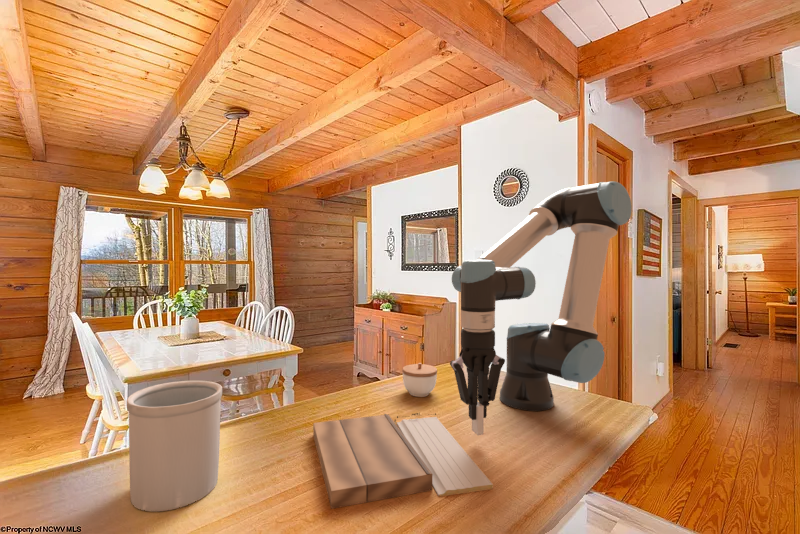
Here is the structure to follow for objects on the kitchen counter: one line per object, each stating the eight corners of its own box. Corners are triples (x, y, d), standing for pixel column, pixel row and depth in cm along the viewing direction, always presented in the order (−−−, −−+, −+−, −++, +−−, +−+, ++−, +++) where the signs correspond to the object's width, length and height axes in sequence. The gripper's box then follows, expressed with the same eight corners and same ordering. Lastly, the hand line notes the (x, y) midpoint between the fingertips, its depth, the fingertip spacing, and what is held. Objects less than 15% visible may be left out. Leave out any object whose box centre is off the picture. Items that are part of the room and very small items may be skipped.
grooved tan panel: (388, 426, 99) (388, 413, 99) (432, 490, 72) (432, 472, 72) (313, 435, 93) (313, 422, 93) (331, 508, 67) (331, 490, 66)
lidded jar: (400, 388, 128) (400, 359, 127) (433, 387, 129) (433, 358, 128) (404, 400, 117) (404, 368, 117) (439, 399, 118) (440, 368, 118)
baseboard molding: (430, 501, 70) (492, 492, 73) (431, 484, 70) (493, 477, 73) (390, 426, 100) (435, 422, 103) (391, 415, 100) (436, 411, 103)
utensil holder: (155, 467, 79) (155, 379, 78) (233, 465, 80) (233, 378, 79) (106, 516, 64) (105, 408, 63) (202, 513, 65) (202, 407, 64)
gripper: (459, 334, 83) (459, 444, 84) (512, 330, 87) (512, 435, 88) (444, 327, 90) (444, 429, 91) (494, 324, 94) (493, 421, 95)
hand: (477, 432), depth 90 cm, fingers closed
